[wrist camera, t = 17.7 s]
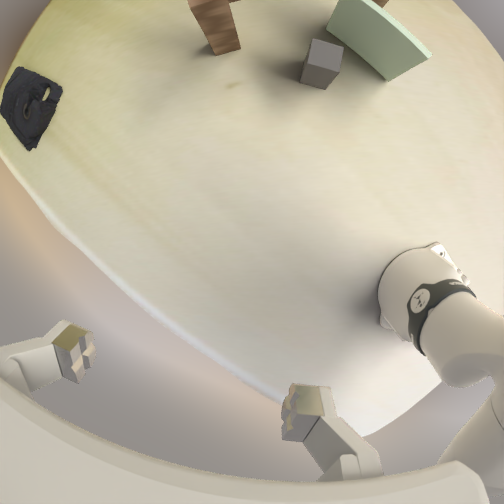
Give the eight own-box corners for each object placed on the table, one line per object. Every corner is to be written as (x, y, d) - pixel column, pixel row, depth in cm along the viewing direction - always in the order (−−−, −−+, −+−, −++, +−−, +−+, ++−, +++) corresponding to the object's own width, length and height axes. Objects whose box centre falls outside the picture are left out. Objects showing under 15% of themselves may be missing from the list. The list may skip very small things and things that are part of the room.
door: (325, 29, 31) (344, -12, 19) (335, 20, 30) (356, -20, 18) (388, 81, 33) (428, 58, 21) (396, 72, 32) (437, 48, 20)
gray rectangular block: (329, 68, 34) (343, 47, 25) (325, 89, 35) (339, 72, 27) (304, 61, 34) (312, 38, 25) (299, 82, 35) (307, 63, 27)
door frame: (357, 17, 30) (389, -30, 15) (363, 31, 31) (400, -14, 16) (211, 41, 33) (184, -9, 18) (216, 55, 34) (189, 7, 19)
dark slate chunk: (28, 57, 33) (15, 54, 28) (69, 91, 36) (54, 88, 32) (-1, 113, 37) (-14, 113, 32) (35, 157, 41) (19, 158, 36)
